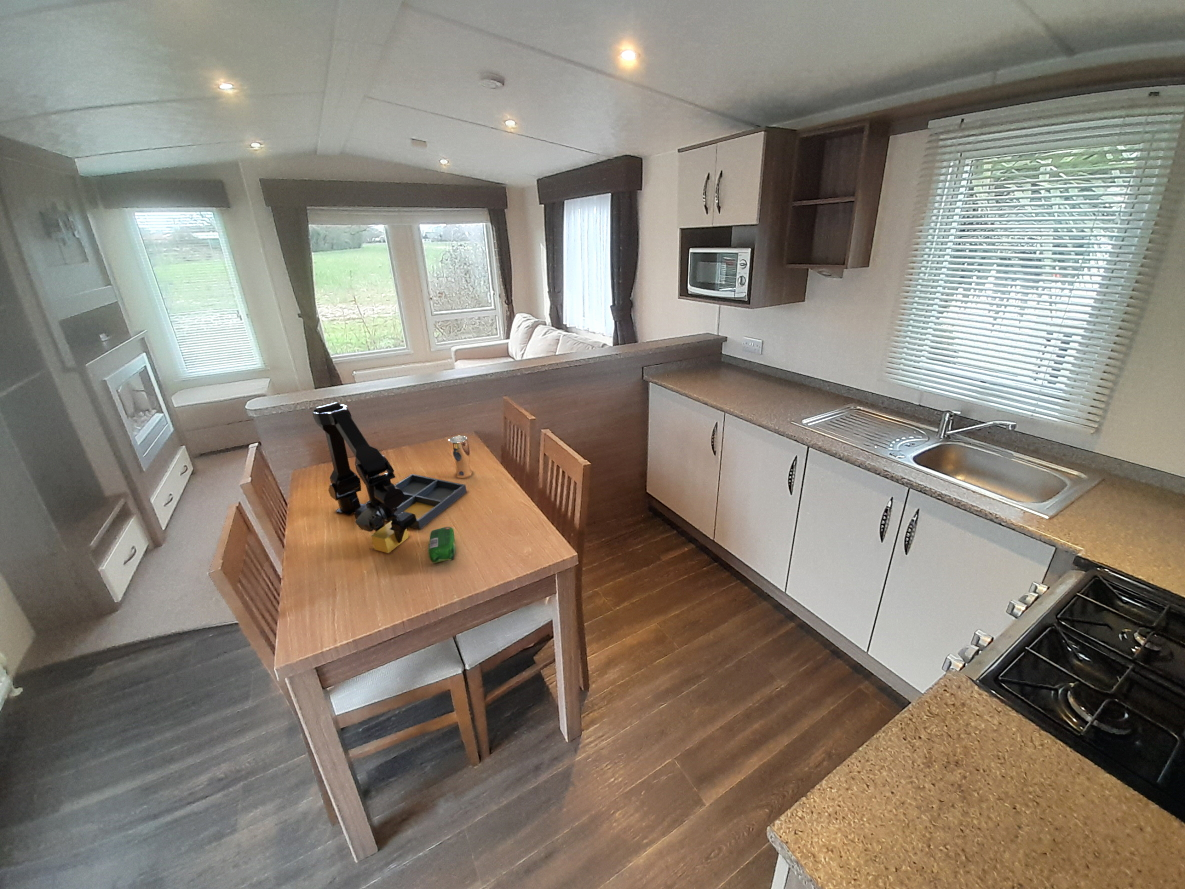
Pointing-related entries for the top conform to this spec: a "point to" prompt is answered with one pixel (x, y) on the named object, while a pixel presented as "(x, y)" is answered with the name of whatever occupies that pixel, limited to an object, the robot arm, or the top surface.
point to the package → (386, 539)
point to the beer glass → (461, 456)
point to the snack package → (442, 544)
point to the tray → (427, 497)
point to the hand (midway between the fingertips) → (391, 539)
